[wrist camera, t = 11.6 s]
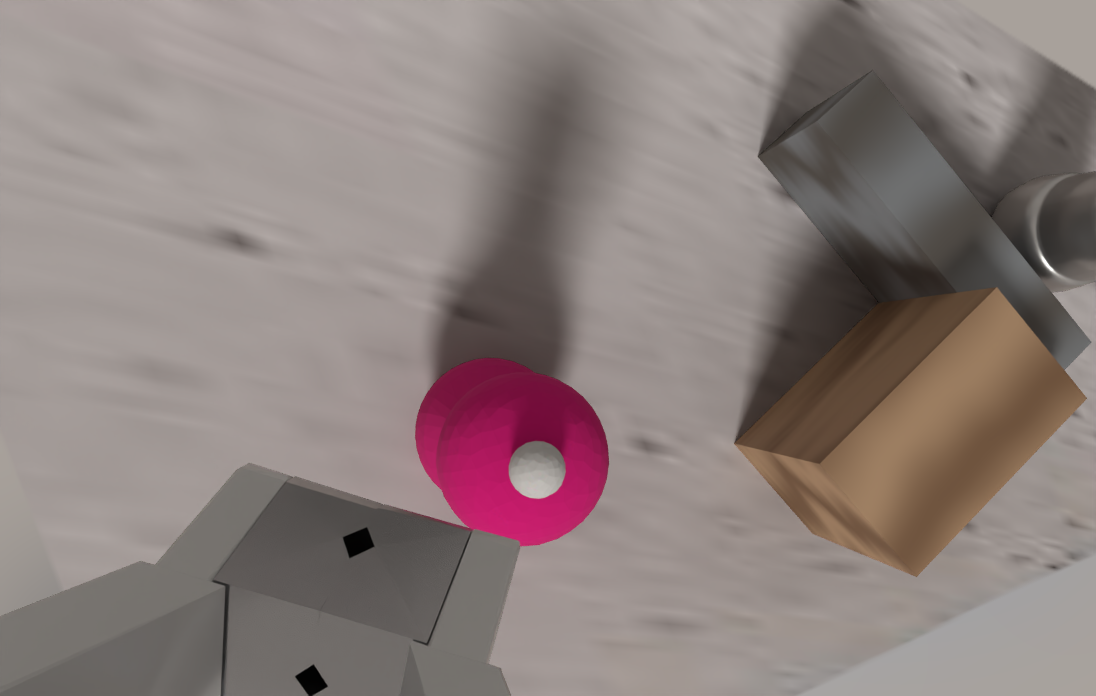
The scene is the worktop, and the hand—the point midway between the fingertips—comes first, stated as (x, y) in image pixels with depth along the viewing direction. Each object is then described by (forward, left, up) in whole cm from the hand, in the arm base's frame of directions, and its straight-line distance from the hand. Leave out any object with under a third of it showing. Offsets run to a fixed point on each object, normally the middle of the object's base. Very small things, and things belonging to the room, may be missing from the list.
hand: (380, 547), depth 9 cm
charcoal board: (-3, +29, -36) cm, 46 cm away
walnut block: (+6, +24, -36) cm, 44 cm away
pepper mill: (+2, +4, -36) cm, 36 cm away
